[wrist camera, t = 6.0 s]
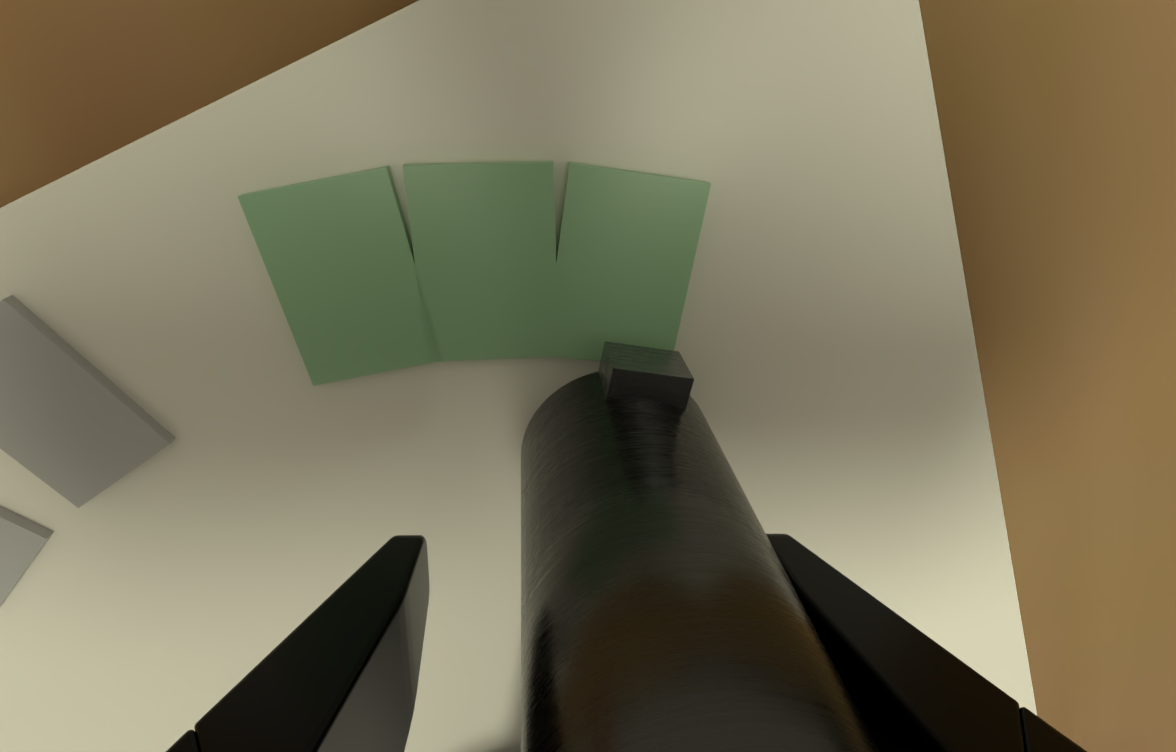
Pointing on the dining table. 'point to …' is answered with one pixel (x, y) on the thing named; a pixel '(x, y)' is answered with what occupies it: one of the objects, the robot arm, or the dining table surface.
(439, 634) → the dial plate
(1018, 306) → the dining table surface
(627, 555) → the dark knobbed cylinder
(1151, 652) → the dining table surface
